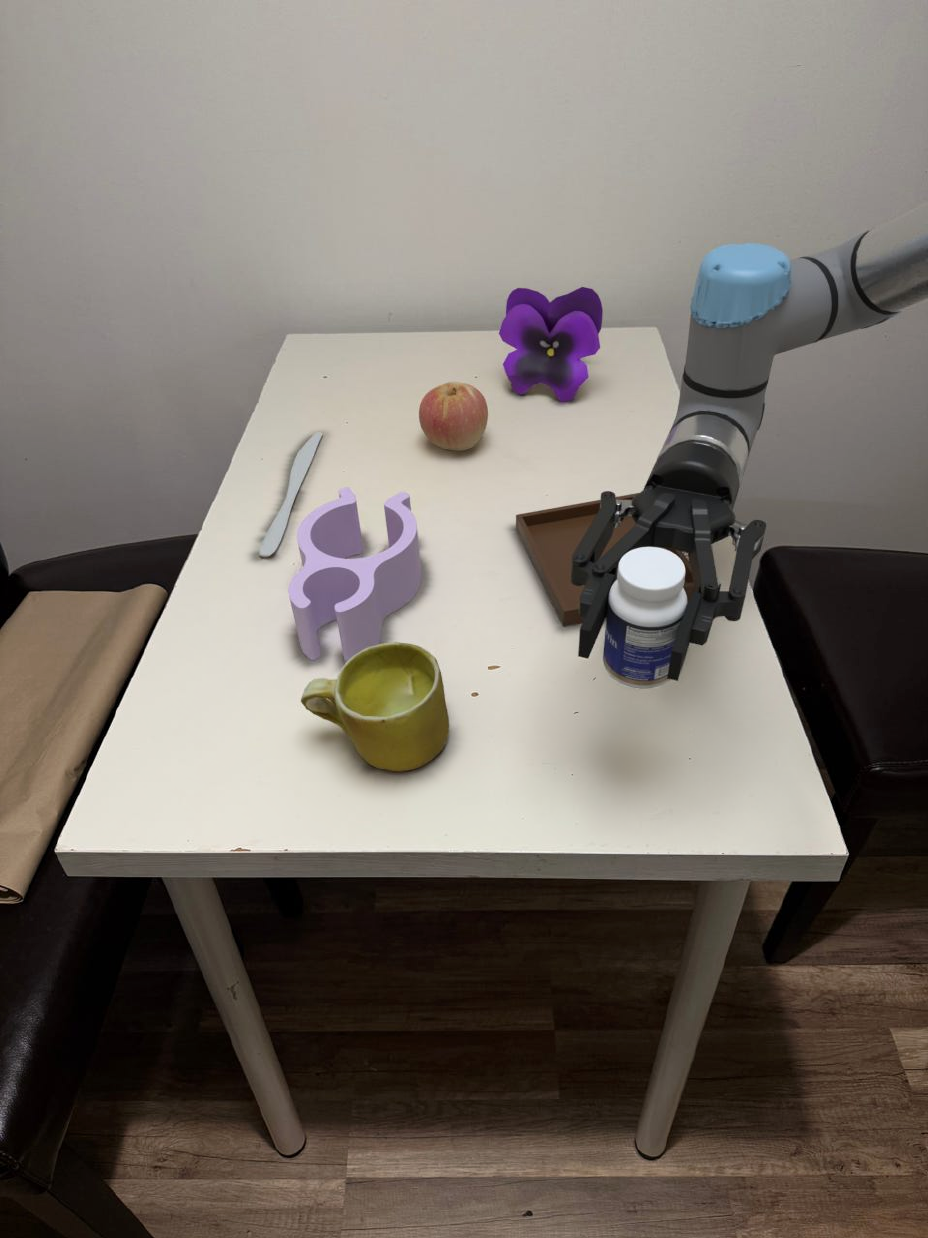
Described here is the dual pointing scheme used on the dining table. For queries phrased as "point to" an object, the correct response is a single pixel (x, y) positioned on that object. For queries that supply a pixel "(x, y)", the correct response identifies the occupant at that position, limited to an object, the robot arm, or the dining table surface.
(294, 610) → the clip
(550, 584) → the brown square tray
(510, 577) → the dining table surface
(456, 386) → the apple
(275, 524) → the butter knife
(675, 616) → the pill bottle
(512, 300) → the flower
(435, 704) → the mug
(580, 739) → the dining table surface
